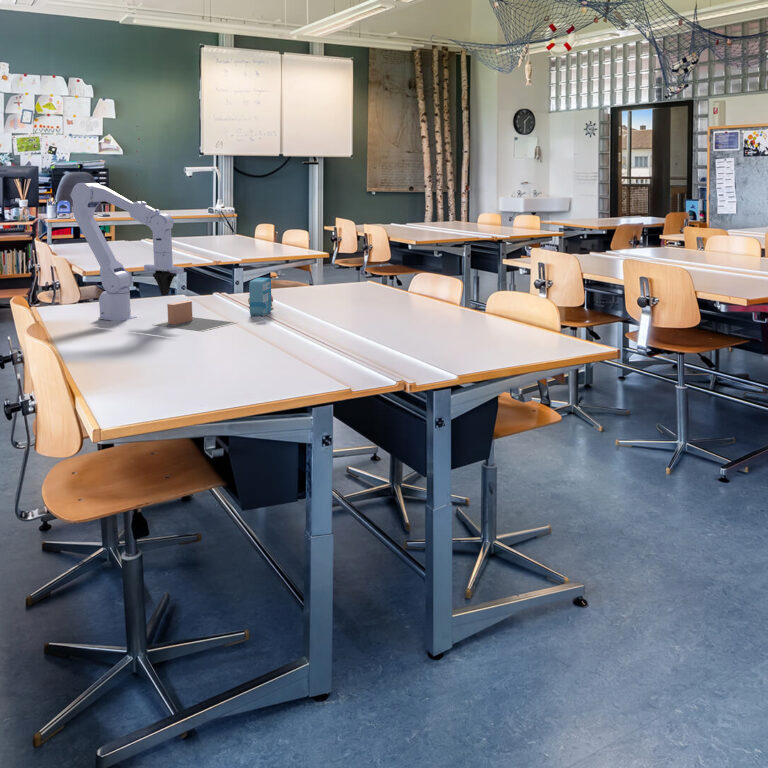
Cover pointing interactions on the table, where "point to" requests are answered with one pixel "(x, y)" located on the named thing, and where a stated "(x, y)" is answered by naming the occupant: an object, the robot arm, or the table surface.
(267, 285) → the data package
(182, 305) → the card box
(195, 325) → the mat
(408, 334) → the table surface
